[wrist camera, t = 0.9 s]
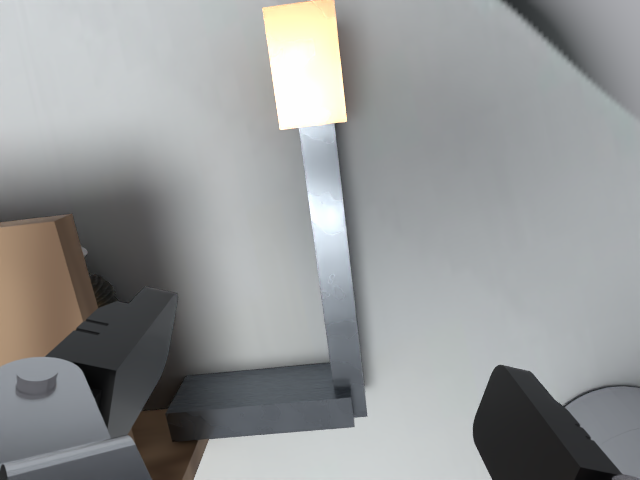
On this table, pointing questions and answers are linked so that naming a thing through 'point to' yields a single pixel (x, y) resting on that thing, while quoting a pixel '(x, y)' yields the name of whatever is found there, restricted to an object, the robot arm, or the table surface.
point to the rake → (330, 246)
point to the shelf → (69, 322)
